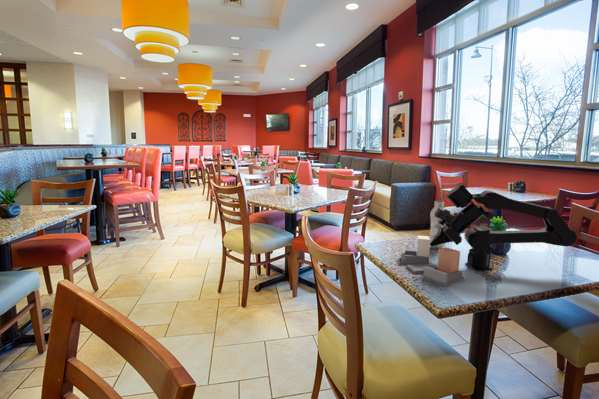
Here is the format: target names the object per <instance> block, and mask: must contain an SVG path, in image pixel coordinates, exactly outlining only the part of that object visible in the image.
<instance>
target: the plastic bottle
mask: <svg viewBox="0 0 599 399" xmlns="http://www.w3.org/2000/svg"><path fill="white" fill-rule="evenodd" d="M433 206H434V207H433V208H432V209H431V211H430V213H429V214H430V216H429V217H430V231H429V238H430V242H431V241H432V240H433V238H434V237H435V236H436V235H437V233H438V232H439V225H440V226H442V225H441V224H440V223H439V222H438V221H439V220H440V218H437V217H435V215H434V214H435V212H436V210H437V209H438V207H439V208H442V209H444V210H445V209H446V208H444V207H445V201H443V200H434V204H433ZM445 244H446V243H443V244H439V245H435V246H431V245H430V249H431V248H432V249H436V250H437V249H438V250H439V249H442V248H445V246H446V245H445Z"/></svg>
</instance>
